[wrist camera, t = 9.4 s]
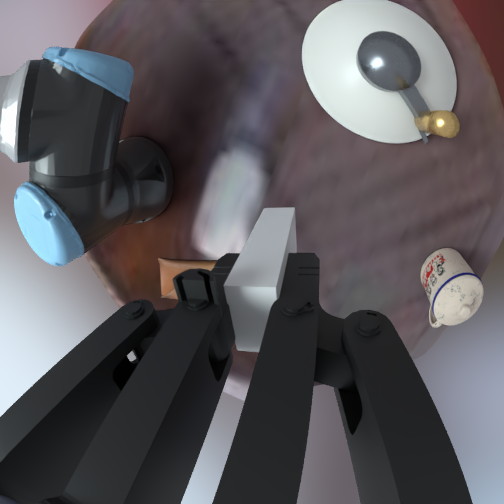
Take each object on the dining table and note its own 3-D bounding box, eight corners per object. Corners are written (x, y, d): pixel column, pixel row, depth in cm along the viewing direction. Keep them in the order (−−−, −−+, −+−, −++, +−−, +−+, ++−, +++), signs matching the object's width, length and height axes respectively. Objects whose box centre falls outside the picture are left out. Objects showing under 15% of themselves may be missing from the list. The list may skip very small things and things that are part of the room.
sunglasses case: (242, 255, 46) (236, 292, 43) (253, 275, 52) (248, 308, 48) (155, 256, 51) (144, 288, 48) (172, 274, 57) (163, 303, 53)
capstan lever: (343, 53, 26) (348, 36, 19) (388, 28, 23) (403, 9, 16) (407, 144, 30) (428, 152, 23) (449, 119, 26) (477, 121, 19)
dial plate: (274, 88, 33) (272, 87, 31) (343, -22, 21) (343, -27, 20) (409, 173, 33) (412, 175, 32) (471, 63, 22) (476, 62, 20)
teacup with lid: (430, 240, 36) (457, 280, 26) (471, 252, 35) (501, 291, 25) (404, 300, 42) (417, 348, 32) (443, 308, 41) (461, 353, 31)
